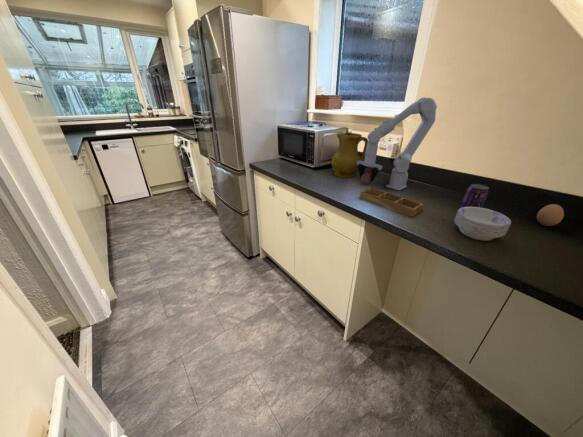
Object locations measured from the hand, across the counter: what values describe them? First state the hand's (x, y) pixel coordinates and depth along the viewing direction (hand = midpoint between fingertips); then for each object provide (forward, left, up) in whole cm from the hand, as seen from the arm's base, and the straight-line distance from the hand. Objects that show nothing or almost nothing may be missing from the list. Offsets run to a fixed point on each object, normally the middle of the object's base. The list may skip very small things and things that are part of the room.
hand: (366, 179), depth 130 cm
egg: (-14, +72, -3) cm, 73 cm away
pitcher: (-5, -18, -3) cm, 19 cm away
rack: (+15, +22, -3) cm, 27 cm away
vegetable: (0, 0, -3) cm, 3 cm away
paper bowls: (+15, +56, -3) cm, 58 cm away
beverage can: (-4, +49, -3) cm, 49 cm away
